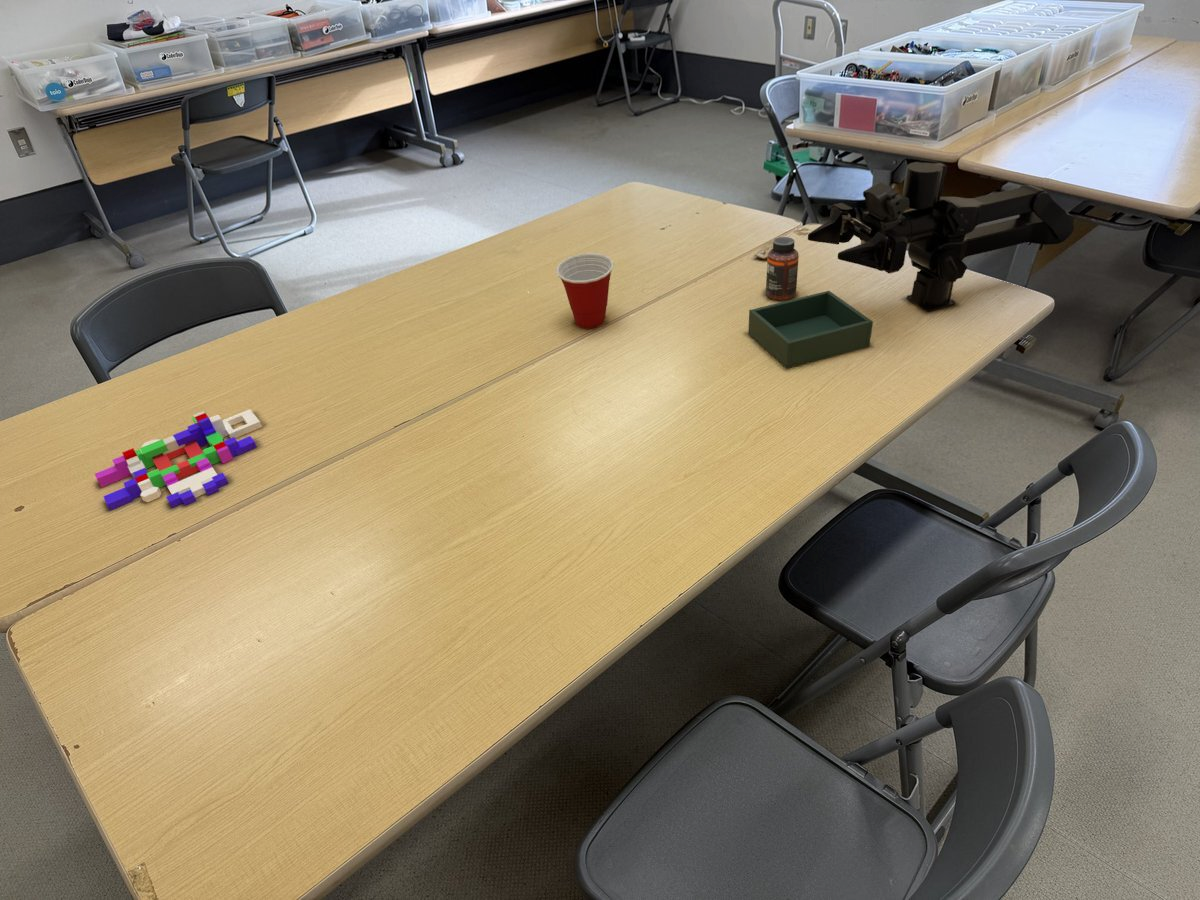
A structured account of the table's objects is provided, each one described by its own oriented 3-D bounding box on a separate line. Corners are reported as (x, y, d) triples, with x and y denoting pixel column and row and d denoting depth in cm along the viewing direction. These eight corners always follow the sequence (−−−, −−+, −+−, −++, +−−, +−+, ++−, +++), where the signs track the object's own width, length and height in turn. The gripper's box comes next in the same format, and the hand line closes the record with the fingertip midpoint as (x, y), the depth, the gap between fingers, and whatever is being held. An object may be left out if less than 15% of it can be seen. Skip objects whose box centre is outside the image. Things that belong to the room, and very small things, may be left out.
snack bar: (769, 240, 176) (782, 237, 174) (771, 246, 177) (783, 244, 175) (752, 255, 170) (765, 253, 168) (754, 262, 170) (767, 259, 169)
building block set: (120, 534, 112) (106, 510, 110) (92, 468, 126) (79, 446, 123) (288, 460, 124) (279, 437, 121) (246, 407, 137) (237, 385, 135)
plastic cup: (553, 332, 151) (546, 274, 144) (575, 306, 159) (569, 250, 152) (605, 339, 147) (600, 280, 140) (625, 312, 155) (622, 255, 148)
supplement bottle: (799, 290, 157) (803, 236, 151) (791, 303, 153) (796, 248, 146) (769, 286, 160) (773, 233, 153) (761, 299, 155) (764, 245, 149)
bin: (826, 314, 149) (829, 290, 146) (869, 346, 138) (873, 321, 135) (748, 334, 145) (749, 310, 142) (786, 369, 134) (788, 343, 131)
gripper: (874, 167, 139) (797, 183, 136) (945, 199, 125) (861, 218, 122) (866, 227, 146) (792, 244, 143) (932, 264, 132) (852, 284, 128)
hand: (822, 246), depth 134 cm, fingers open, 9 cm apart
